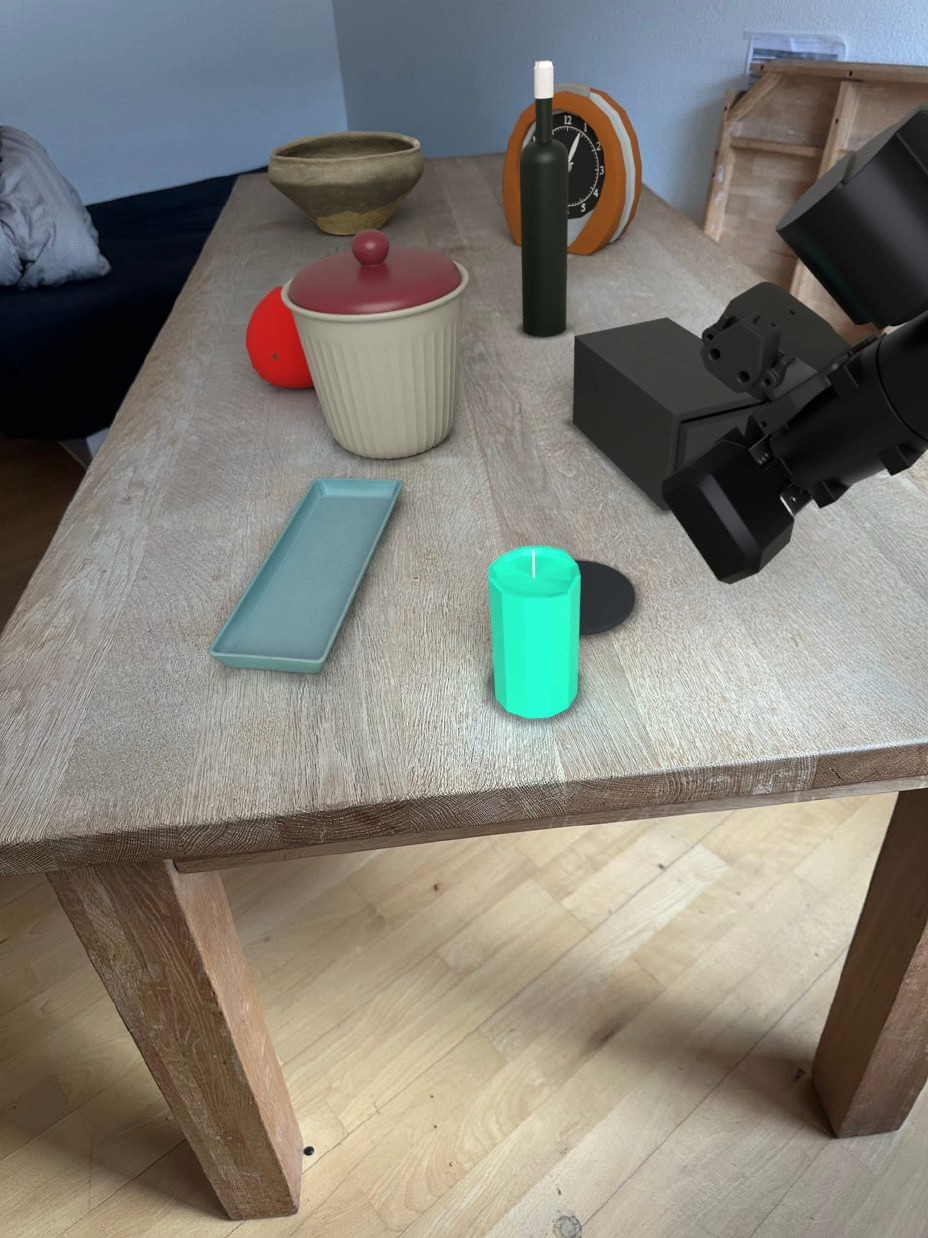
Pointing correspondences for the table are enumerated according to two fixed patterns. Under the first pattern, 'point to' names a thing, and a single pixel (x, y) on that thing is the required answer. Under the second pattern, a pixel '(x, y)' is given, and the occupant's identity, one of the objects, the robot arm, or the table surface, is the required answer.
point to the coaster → (603, 597)
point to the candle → (535, 630)
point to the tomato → (277, 344)
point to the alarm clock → (583, 166)
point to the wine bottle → (544, 218)
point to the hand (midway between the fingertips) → (685, 512)
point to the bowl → (347, 177)
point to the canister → (382, 343)
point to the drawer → (709, 430)
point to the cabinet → (644, 396)
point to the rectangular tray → (308, 578)
